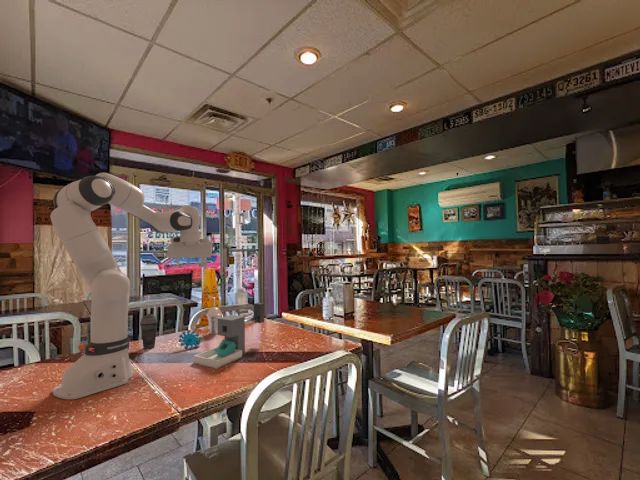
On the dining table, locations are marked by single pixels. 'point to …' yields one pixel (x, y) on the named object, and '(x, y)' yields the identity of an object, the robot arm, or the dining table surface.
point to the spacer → (225, 348)
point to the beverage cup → (148, 330)
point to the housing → (233, 330)
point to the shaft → (257, 314)
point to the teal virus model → (190, 339)
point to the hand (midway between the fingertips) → (189, 267)
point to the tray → (216, 358)
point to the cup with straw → (213, 318)
